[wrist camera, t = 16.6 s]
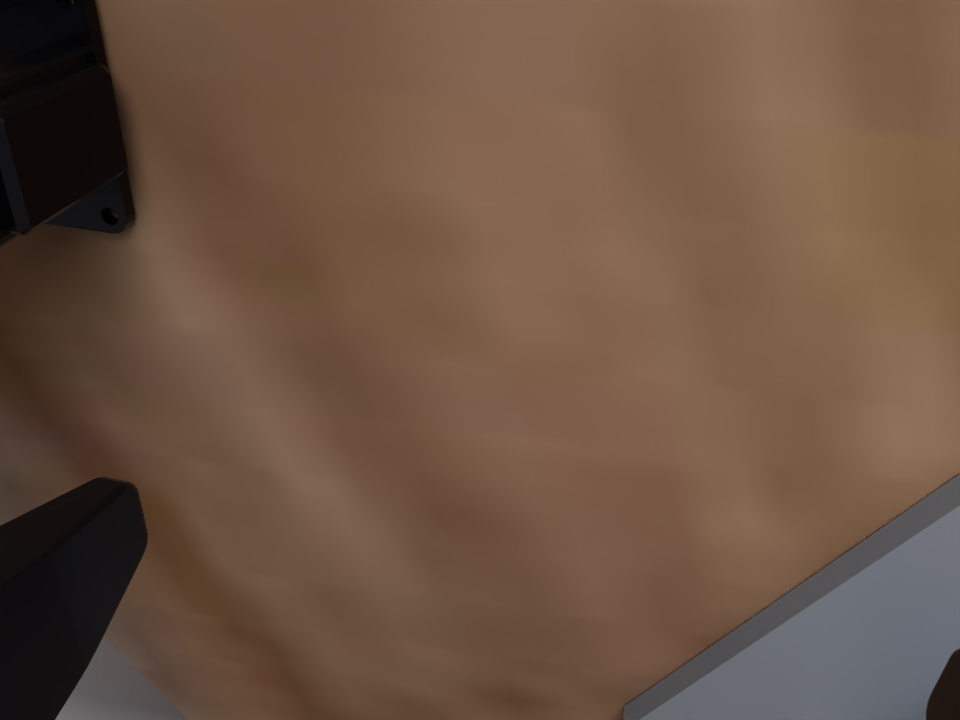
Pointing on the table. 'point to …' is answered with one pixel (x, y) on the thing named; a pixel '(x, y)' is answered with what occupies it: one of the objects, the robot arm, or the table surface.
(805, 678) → the can holder
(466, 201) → the table surface
